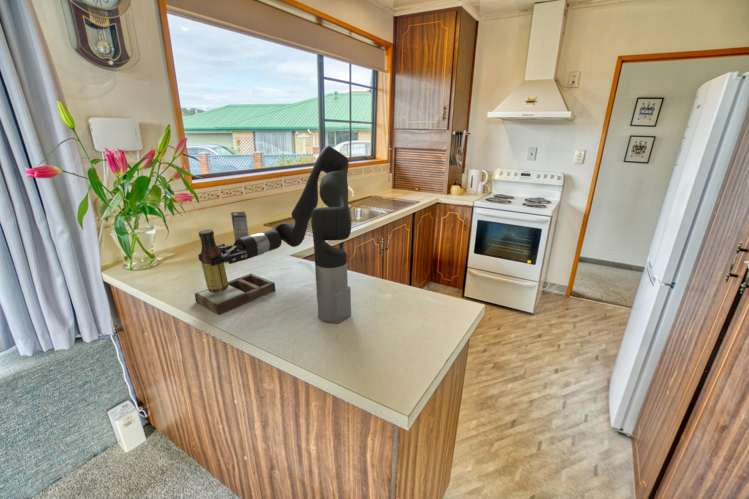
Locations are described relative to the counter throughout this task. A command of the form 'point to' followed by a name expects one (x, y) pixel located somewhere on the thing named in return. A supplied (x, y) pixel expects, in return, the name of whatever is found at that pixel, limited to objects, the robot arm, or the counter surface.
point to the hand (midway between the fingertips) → (204, 260)
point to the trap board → (235, 293)
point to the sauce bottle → (213, 274)
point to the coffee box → (239, 224)
